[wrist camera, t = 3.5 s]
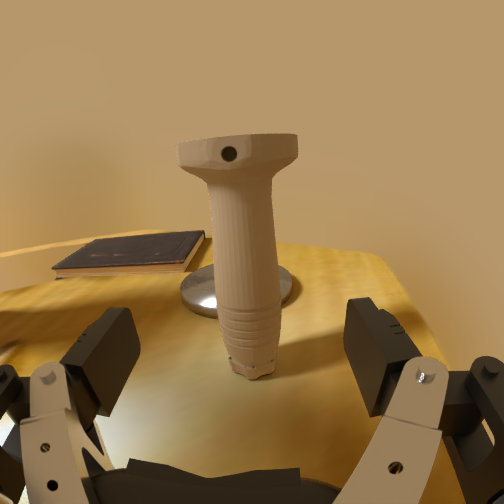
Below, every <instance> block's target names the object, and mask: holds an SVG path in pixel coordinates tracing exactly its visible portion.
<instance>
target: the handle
mask: <svg viewBox="0 0 504 504" xmlns="http://www.w3.org/2000/svg"><path fill="white" fill-rule="evenodd" d="M297 141H298V140H297V135H295V134H250V135H237V136H226V137H216V138H208V139H201V140H195V141H189V142H183V143H179V144H176V150H177V161H178V165H179V167H181V168H182V169H183V170H185V171H187V172H189V173H191V174H193V175H196V176H197V177H199V178H201V179H203V180H204V181H205V182H206V183H207V187H208V192H209V197H210V205H211V223H212V241H213V260H214V279H215V296H216V305H217V312H218V318H219V324H220V327H221V332H222V336H223V339H224V343H225V346H226V348H227V351H228V353H229V355H230V357H229V362H230V365H231V368H232V370H233V371H234V372H235V373H240V374H242V375H244V376H246V378H247V379H257V378H258V377H259V376H262V375H265V374H271V373H272V372H273V371H274V370H275V366H276V354H277V348H278V344H279V338H280V329H281V289H280V279H279V269H278V260H277V251H276V242H275V230H274V220H273V209H272V199H271V194H272V193H271V192H272V178H273V177H274V175H275V174H276V173H277V172H279V171H280V170H282V169H283V168H285V167H286V166H288V165H289V164H291V163H292V162H293V161H294V160H295V159H296V158H297V157H298V142H297Z"/></svg>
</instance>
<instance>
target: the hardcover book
mask: <svg viewBox="0 0 504 504" xmlns="http://www.w3.org/2000/svg"><path fill="white" fill-rule="evenodd" d="M204 239H205V232H204V230H198V231H185V232H171V233H159V234H147V235H135V236H124V237H113V238H103V239H95V240H94V241H92V242H90V243H89V244H87V245H86V246H84V247H82V248H81V249H79V250H78V251H76V252H75V253H73V254H71V255H70V256H68V257H67V258H65V259H64V260H63V261H61V262H59V263H58V264H57V265H55V266H53V267H52V270H55V272H56V276H57V278H56V279H55V281H56V280H60V279H65V278H69V277H73V276H106V275H137V274H164V273H184V271H185V270H186V268H187V266H188V265H189V263H190V261H191V260H192V258H193V256H194V255H195V253H196V251H197V250H198V248H199V246H200V245H201V243H202V241H203V240H204Z"/></svg>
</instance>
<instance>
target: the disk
mask: <svg viewBox="0 0 504 504" xmlns="http://www.w3.org/2000/svg"><path fill="white" fill-rule="evenodd" d="M278 269H279V279H280V289H281V305H282V304H284V303H285V302H286V301H287V300H288V298H289V297H290V295H291V293H292V277H291V274H290V273H289V272H288V271H287V270H286V269H285V268H283V267H281V266H279V265H278ZM181 294H182V300H183V303H184V304H185V306H186V307H187V308H188V309H189V310H191V311H192V312H194V313H196V314H199V315H202V316H205V317H209V318H215V319H219V318H218V312H217V305H216V296H215V279H214V264H212V265H208V266H205V267H203V268H200V269H198V270H196V271H194V272H192V273H191V274H189V275H188V276H187V277H186V278H185V279H184V280H183V282H182V283H181Z"/></svg>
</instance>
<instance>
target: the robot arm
mask: <svg viewBox="0 0 504 504" xmlns="http://www.w3.org/2000/svg"><path fill="white" fill-rule="evenodd" d="M343 340H344V349H345V352H346V355H347V357H348V360H349V362H350V365H351V368H352V370H353V373H354V375H355V378H356V381H357V383H358V386H359V389H360V391H361V394H362V397H363V399H364V402H365V405H366V408H367V410H368V413H369V416H370V417H375V416H379V415H382V419H381V421H380V423H379V425H378V427H377V429H376V431H375V433H374V435H373V437H372V439H371V441H370V443H369V445H368V447H367V449H366V450H365V452H364V454H363V456H362V458H361V459H360V461H359V463H358V465H357V466H356V468H355V470H354V471H353V473H352V475H351V476H350V478H349V479H348V481H347V483H346V484H345V486H344V487H343V489H340V488H338V487H336V486H333V485H331V484H328V483H325V482H321V481H318V480H313V479H307V478H300V468H290V469H276V470H254V471H249V472H244V473H239V474H234V475H228V476H222V477H216V478H205V477H201V476H198V475H195V474H192V473H189V472H186V471H183V470H180V469H177V468H174V467H171V466H169V465H165V464H158V463H152V462H146V461H141V460H136V459H131V458H130V459H129V462H128V465H127V468H121V469H115V468H114V467H113V465H112V463H111V461H110V459H109V456H108V453H107V451H106V448H105V445H104V442H103V440H102V437H101V434H100V431H99V428H98V425H97V423H96V421H95V420H94V419H95V417H96V415H102V416H106V417H110V414H111V412H112V410H113V408H114V406H115V404H116V402H117V400H118V398H119V396H120V394H121V392H122V390H123V387H124V385H125V383H126V381H127V379H128V377H129V375H130V373H131V371H132V369H133V367H134V365H135V364H136V362H137V360H138V358H139V355H140V341H139V337H138V334H137V331H136V328H135V324H134V321H133V318H132V314H131V312H130V310H129V309H128V308H124V307H109V308H108V309H107V310H106V311H105V313H104V314H103V315H102V316H101V317H100V319H98V320H97V321H95V322H94V323H92V324H91V325H89V326H88V327H87V329H86V330H85V331H84V332H83V333H82V336H80V337H79V338H78V339H77V342H75V343H74V344H73V346H72V347H71V348H70V349H69V351H68V352H67V353H66V354H65V356H64V357H63V358H62V359H61V361H60V362H59V363H57V362H50V363H46V364H43V365H41V366H40V367H38V368H37V369H36V370H35V371H34V372H33V373H32V375H31V377H19V376H18V374H17V372H16V370H15V369H14V367H13V366H11V365H1V366H0V420H1V418H2V416H3V415H4V413H5V412H7V414H8V415H9V416H10V418H11V419H12V420H13V422H14V423H15V425H14V427H13V428H12V430H11V432H10V434H9V435H8V437H7V439H6V441H5V443H4V444H3V446H2V447H1V446H0V504H18V503H19V500H20V497H21V495H22V492H23V490H24V487H25V485H26V488H27V494H28V499H29V504H418V503H419V501H420V498H421V496H422V494H423V491H424V489H425V486H426V483H427V481H428V478H429V475H430V472H431V469H432V467H433V463H434V460H435V457H436V454H437V451H438V447H439V444H440V440H441V437H442V439H443V441H444V444H445V446H446V448H447V451H448V454H449V456H450V459H451V461H452V464H453V467H454V469H455V472H456V475H457V478H458V480H459V483H460V486H461V489H462V492H463V495H464V498H465V502H466V504H504V363H502V362H501V361H500V360H498V359H496V358H494V357H490V356H482V357H479V358H477V359H476V360H475V361H474V362H473V364H472V366H471V368H470V370H469V371H448V370H447V368H446V366H445V365H444V364H443V363H441V362H440V361H438V360H437V359H434V358H431V357H424V356H422V354H421V353H420V351H419V350H418V349H417V347H416V346H415V344H414V343H413V341H412V340H411V339H410V337H409V336H408V334H407V333H405V330H404V329H403V327H402V326H400V323H399V322H398V321H397V319H396V318H395V317H394V315H392V314H390V313H389V312H387V311H386V310H384V309H380V310H378V308H377V307H376V306H375V304H374V303H373V301H372V300H371V299H370V298H369V297H365V298H356V299H349V300H348V303H347V310H346V319H345V328H344V337H343ZM484 418H485V420H486V422H487V424H488V426H489V428H490V430H491V431H492V433H493V435H494V439H495V444H494V446H493V444H492V442H491V440H490V438H489V436H488V434H487V432H486V430H485V428H484V426H483V425H482V423H481V422H482V421H483V420H484Z"/></svg>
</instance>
